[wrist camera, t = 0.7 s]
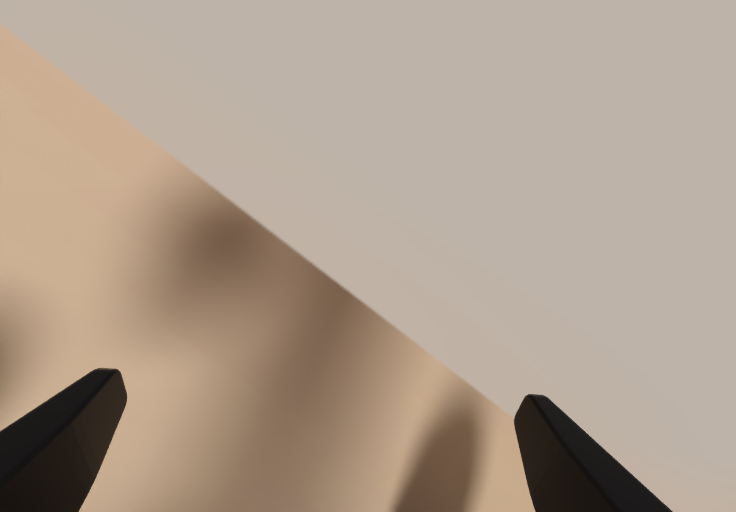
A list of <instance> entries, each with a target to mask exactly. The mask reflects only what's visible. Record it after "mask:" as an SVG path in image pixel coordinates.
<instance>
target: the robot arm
mask: <svg viewBox="0 0 736 512" xmlns="http://www.w3.org/2000/svg"><path fill="white" fill-rule="evenodd" d="M126 402H127V393H126V389H125V385H124V382H123V378H122V375H121V372H120V371H119V370H118V369H110V368H98V369H95V370H93V371H91V372H90V373H88V374H87V375H85V376H84V377H82V378H81V379H79V380H78V381H76V382H74V383H73V384H71V385H70V386H68V387H67V388H65V389H64V390H62V391H61V392H59V393H58V394H56V395H55V396H53V397H52V398H50V399H49V400H47V401H46V402H44V403H43V404H41V405H39V406H38V407H36V408H35V409H33V410H32V411H30V412H29V413H27V414H26V415H24V416H23V417H21V418H20V419H18V420H17V421H15V422H14V423H12V424H11V425H9V426H8V427H6V428H5V429H3V430H1V431H0V512H79V510H80V508H81V506H82V504H83V502H84V500H85V499H86V497H87V495H88V493H89V491H90V489H91V487H92V485H93V483H94V481H95V479H96V476H97V474H98V472H99V470H100V467H101V465H102V462H103V460H104V457H105V455H106V453H107V450H108V448H109V445H110V443H111V440H112V438H113V435H114V433H115V430H116V428H117V426H118V423H119V421H120V418H121V416H122V413H123V411H124V408H125V406H126ZM514 426H515V431H516V435H517V440H518V444H519V448H520V453H521V457H522V462H523V466H524V471H525V475H526V479H527V484H528V488H529V492H530V495H531V499H532V502H533V505H534V508H535V511H536V512H672V511H671V510H670V509H669V508H668V507H667V506H666V505H665V504H663V503H662V502H661V501H660V500H659V499H658V498H657V497H656V496H655V495H654V494H653V493H652V492H650V491H649V490H648V489H647V488H646V487H645V486H644V485H643V484H641V482H639V481H638V480H637V479H636V478H635V477H634V476H633V475H632V474H631V473H630V472H628V471H627V470H626V469H625V468H624V467H623V466H622V465H621V464H620V463H619V462H618V461H617V460H615V459H614V458H613V457H612V456H611V455H610V454H609V453H608V452H606V450H604V449H603V448H602V447H601V446H600V445H599V444H598V443H597V442H596V441H595V440H594V439H592V438H591V437H590V436H589V435H588V434H587V433H586V432H585V431H584V430H583V429H582V428H580V427H579V426H578V425H577V424H576V423H575V422H574V421H573V420H572V419H571V418H569V417H568V416H567V415H566V414H565V413H564V412H563V411H562V410H561V409H560V408H558V407H557V406H556V405H555V404H554V403H553V402H552V401H551V400H550V399H549V398H547V397H546V396H543V395H534V394H528V395H527V396H525V398H524V399H523V401H522V403H521V405H520V407H519V409H518V411H517V413H516V415H515V419H514Z"/></svg>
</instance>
